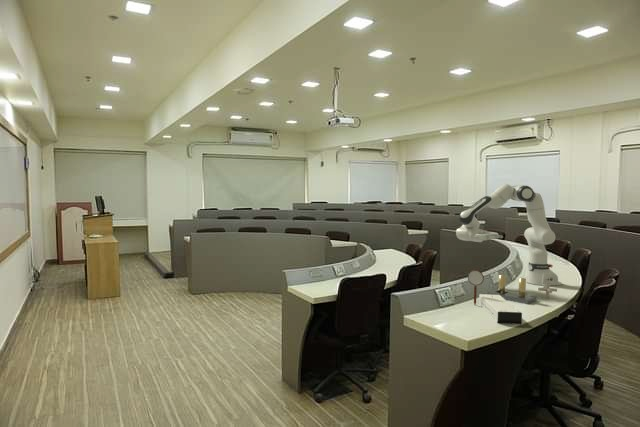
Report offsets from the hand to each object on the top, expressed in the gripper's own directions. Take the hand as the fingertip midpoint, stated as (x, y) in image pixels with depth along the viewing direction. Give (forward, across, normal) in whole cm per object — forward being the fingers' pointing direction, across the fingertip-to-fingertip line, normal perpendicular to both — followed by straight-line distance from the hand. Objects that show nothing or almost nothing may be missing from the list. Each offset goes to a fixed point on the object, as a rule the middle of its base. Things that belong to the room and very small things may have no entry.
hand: (498, 237), depth 269 cm
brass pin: (+11, -18, +34) cm, 40 cm away
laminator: (+26, -54, +35) cm, 69 cm away
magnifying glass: (+10, -49, +34) cm, 61 cm away
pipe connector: (+31, 0, +34) cm, 46 cm away
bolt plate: (+17, -18, +34) cm, 42 cm away
